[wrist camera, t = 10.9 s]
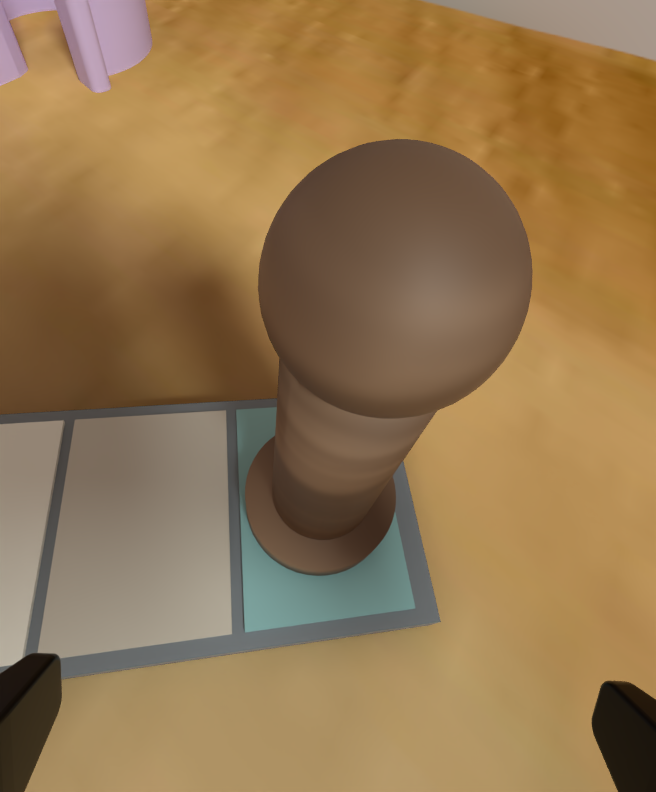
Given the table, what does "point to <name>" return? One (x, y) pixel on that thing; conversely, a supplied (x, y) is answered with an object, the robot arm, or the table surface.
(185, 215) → the table surface
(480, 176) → the pawn
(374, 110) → the table surface
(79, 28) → the clip
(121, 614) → the board
